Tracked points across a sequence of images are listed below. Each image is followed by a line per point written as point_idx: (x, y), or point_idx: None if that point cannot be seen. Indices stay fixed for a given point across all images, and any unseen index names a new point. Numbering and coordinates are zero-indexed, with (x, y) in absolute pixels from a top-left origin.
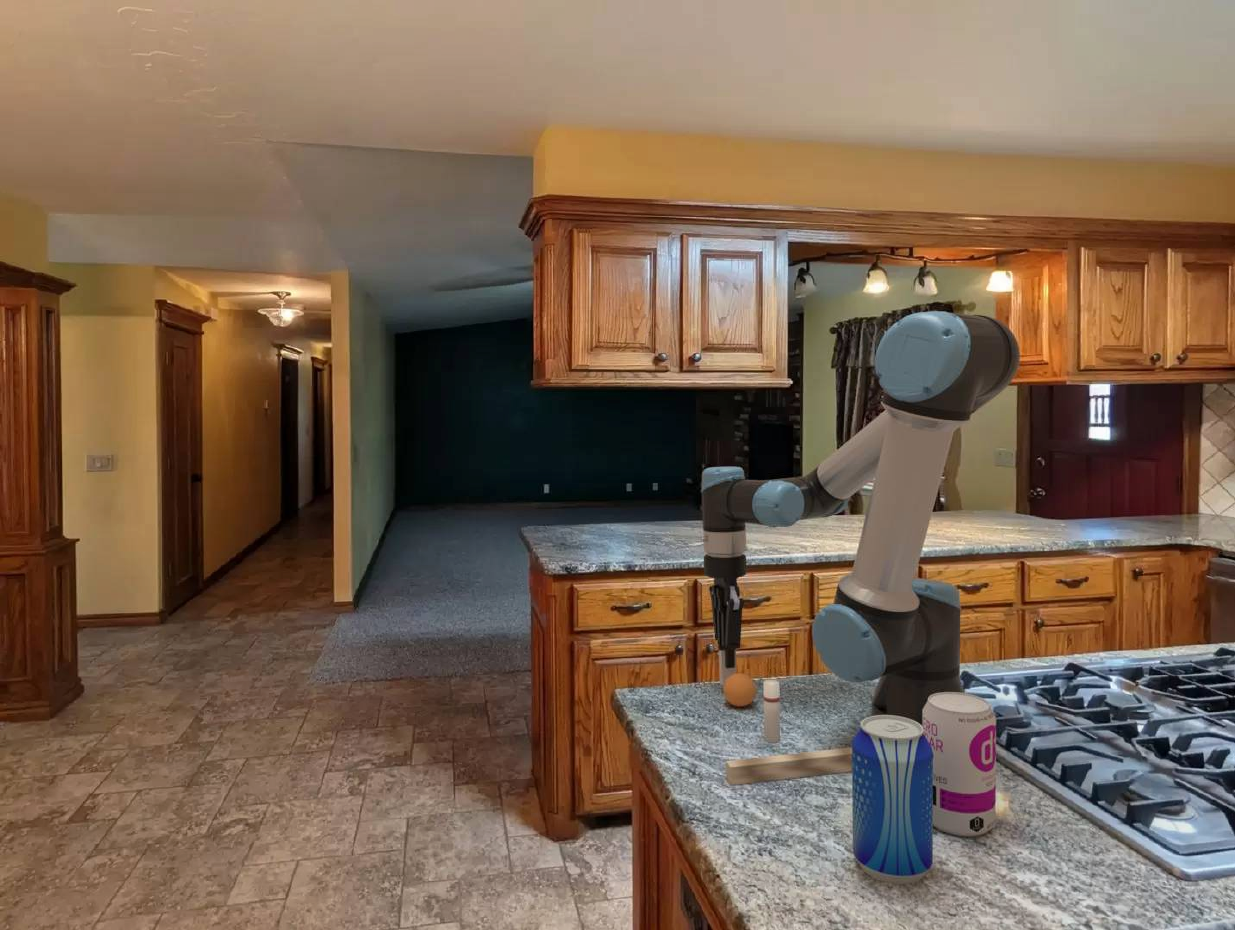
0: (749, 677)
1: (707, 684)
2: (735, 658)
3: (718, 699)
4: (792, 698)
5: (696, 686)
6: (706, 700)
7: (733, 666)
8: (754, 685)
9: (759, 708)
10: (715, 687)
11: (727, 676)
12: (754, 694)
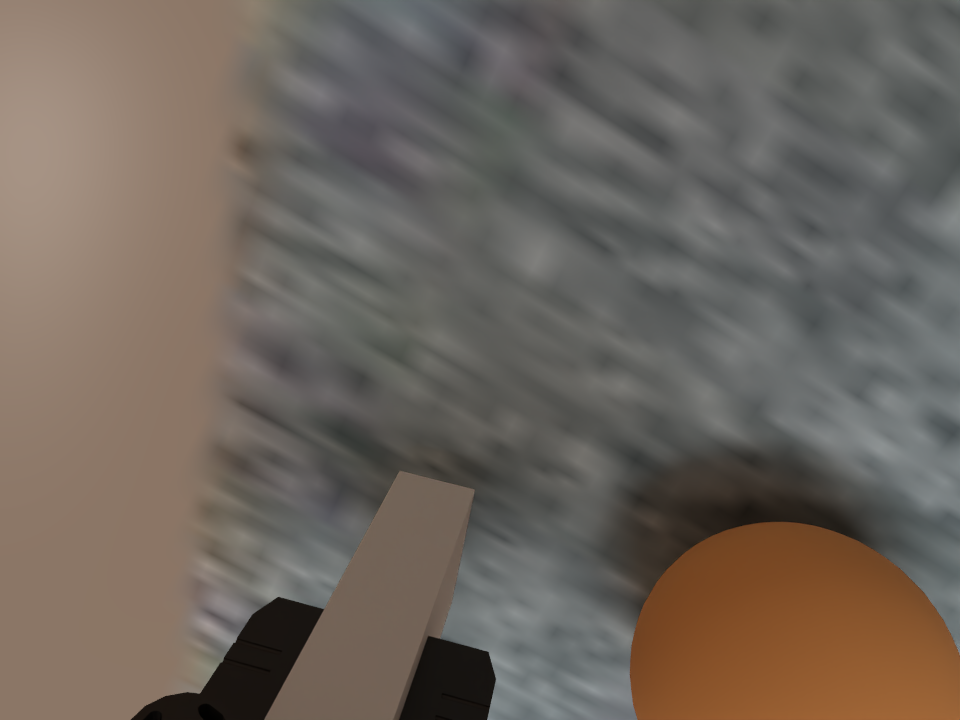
0: (875, 702)
1: (222, 538)
2: (409, 670)
3: (558, 636)
4: (885, 71)
5: (239, 620)
6: (537, 707)
7: (487, 675)
8: (926, 634)
9: (914, 492)
10: (306, 524)
11: (442, 613)
12: (928, 599)
